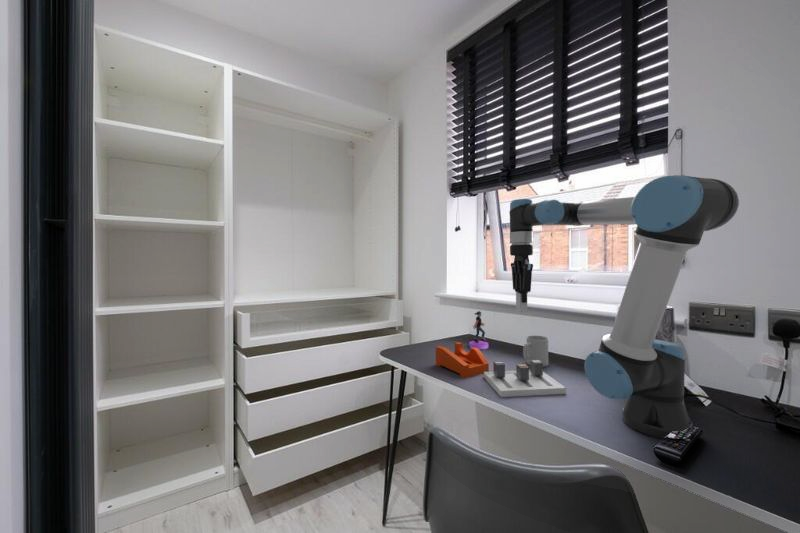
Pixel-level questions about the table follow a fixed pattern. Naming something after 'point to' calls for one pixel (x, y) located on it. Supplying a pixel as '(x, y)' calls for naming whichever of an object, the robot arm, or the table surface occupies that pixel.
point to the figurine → (476, 343)
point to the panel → (524, 385)
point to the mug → (536, 349)
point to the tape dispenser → (462, 360)
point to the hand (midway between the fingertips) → (521, 311)
